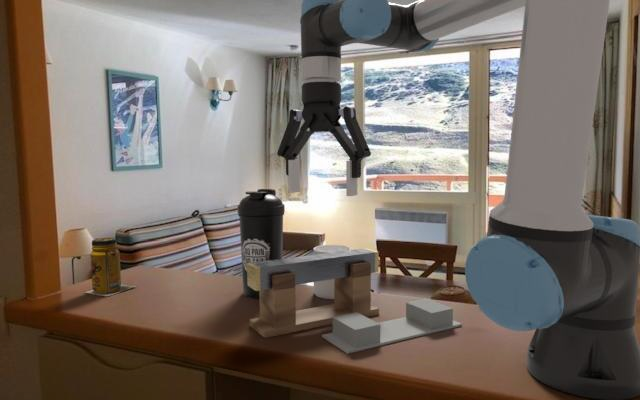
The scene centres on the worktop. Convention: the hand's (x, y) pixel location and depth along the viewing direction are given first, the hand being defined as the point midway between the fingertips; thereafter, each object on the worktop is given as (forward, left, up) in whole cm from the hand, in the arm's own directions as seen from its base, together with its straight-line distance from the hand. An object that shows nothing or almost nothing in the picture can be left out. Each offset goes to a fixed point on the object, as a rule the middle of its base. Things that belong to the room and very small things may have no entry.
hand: (322, 194), depth 99 cm
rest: (-17, -5, -23) cm, 29 cm away
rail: (-5, +4, -15) cm, 16 cm away
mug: (+6, -8, -23) cm, 26 cm away
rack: (-5, +4, -23) cm, 24 cm away
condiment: (+36, +35, -24) cm, 56 cm away
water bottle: (+16, +6, -23) cm, 29 cm away
